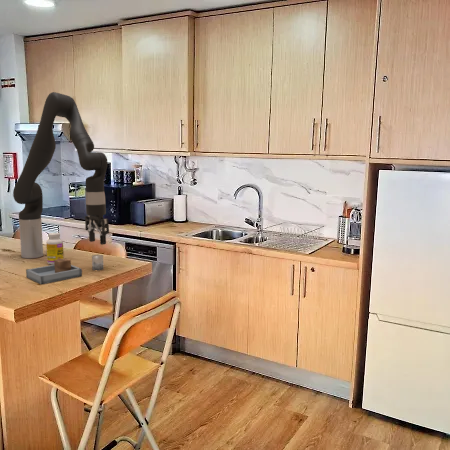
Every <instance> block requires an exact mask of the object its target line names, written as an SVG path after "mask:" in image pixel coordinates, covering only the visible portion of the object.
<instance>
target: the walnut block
mask: <svg viewBox="0 0 450 450" xmlns="http://www.w3.org/2000/svg"><path fill="white" fill-rule="evenodd" d="M54 264H55V273H58V272H63V271H68V270H71V265H72V259H69V258H65V257H64V258H63V259H57V260H54Z"/></svg>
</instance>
